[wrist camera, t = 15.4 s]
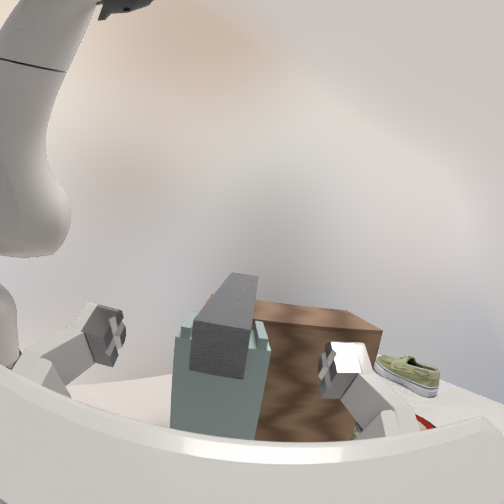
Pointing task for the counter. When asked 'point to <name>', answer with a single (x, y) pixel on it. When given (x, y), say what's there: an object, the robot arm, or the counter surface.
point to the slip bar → (224, 329)
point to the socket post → (218, 390)
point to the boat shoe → (409, 373)
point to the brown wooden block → (305, 371)
